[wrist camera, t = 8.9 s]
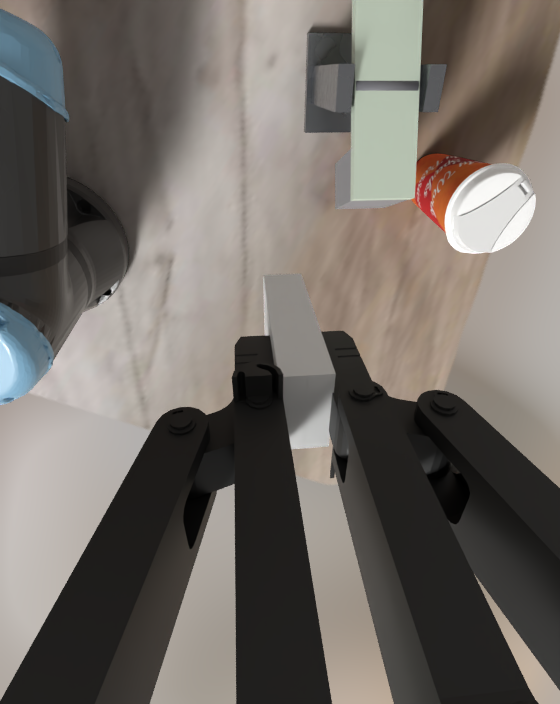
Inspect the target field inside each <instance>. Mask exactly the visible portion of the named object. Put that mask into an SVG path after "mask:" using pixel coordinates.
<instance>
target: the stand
mask: <svg viewBox="0 0 560 704" xmlns="http://www.w3.org/2000/svg"><path fill="white" fill-rule="evenodd" d="M446 67H447V64H426V65H421V66H420V90H419V112H438V109H439V104H440V99H441V93H442V88H443V83H444V78H445V72H446ZM354 72H355V64H352V33H307V59H306V91H305V122H304V132H305V133H317V132H351V107H352V95H353V83H354Z"/></svg>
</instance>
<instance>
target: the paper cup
mask: <svg viewBox="0 0 560 704" xmlns="http://www.w3.org/2000/svg"><path fill="white" fill-rule="evenodd" d="M411 200H412V201H413V202H414V203H415V204H416V205H417V206H418V207H419V208H420V209H421V210H422V211H423V212H424V213H425V214H426V215H427V216H428V217H429V218H430V219H431V220H432V221H433V222H435V223H436V224H437V225H438V226H439V227H440V228H441V229H442V230H443V231H444V232H445V233H446V234H447V239H448V242H449V243H450V245H451V246H452V247H454V248H455V249H456V250H458V251H460V252H465V253H473V254H475V253H484V252H489V253H490V252H494V251H497V250H500V249H502V248H504V247H506V246H508V245H509V244H511V243H512V242H513V241H514V240H516V239H517V238H518V237H519V236H520V235H521V234H522V233H523V231H524V230H525V229H526V227H527V226H528V224H529V222H530V220H531V218H532V216H533V213H534V209H535V203H536V197H535V192H534V191H533V189H532V185H531V182H530V179H529V178H528V176H527V175H526V173H525V172H524V171H523V170H522V169H520V168H519V167H517V166H515V165H512V164H507V163H497V164H488V163H483V162H479V161H474V160H470V159H465V158H461V157H456V156H451V155H446V154H437V153H436V154H430V155H427V156H424V157H423V158H421V159H420V160H418V161H417V162H416V184H415V198H413V199H411Z"/></svg>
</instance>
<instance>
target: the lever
mask: <svg viewBox="0 0 560 704" xmlns="http://www.w3.org/2000/svg"><path fill="white" fill-rule="evenodd" d="M422 20H423V0H352V64H355V72H354V83H353V95H352V107H351V149H350V150H349V151H348V152H347V153H346V154H345V155H344V156H343V157H342V158H341V159H340V160H339V161H338V162H337V163H336V164H335V209H358V208H385V207H388V206H391V205H394V204H397V203H400V202H403V201H406V200H410V199H413V198H415V184H416V160H417V137H418V113H419V90H420V66H421V43H422Z"/></svg>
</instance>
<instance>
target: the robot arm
mask: <svg viewBox="0 0 560 704" xmlns="http://www.w3.org/2000/svg"><path fill="white" fill-rule="evenodd" d="M65 122H69V113H68V112H67V110H66V109H65V96H64V81H63V66H62V61H61V58H60V55H59V52H58V50H57V49H56V47H55V45H54V44H53V43H52V41H51V40H50V39H49V38H48V37H47V36H46V35H45V34H44V33H43V32H42V31H41V30H40V29H38V28H37V27H35V26H34V25H32V24H30V23H28V22H27V21H25V20H23V19H21V18H19V17H17V16H15V15H13V14H11V13H9V12H7V11H5V10H3V9H0V405H3V404H6V403H9V402H12V401H14V399H18V398H19V397H21V396H23V395H25V394H26V393H28V392H29V391H30V390H31V389H32V388H33V387H34V386H35V385H36V384H37V382H38V381H39V380H40V379H41V378H42V377H43V376H44V375H45V374H46V373H47V372H48V371H49V370H50V368H51V366H52V365H53V360H54V359H55V357H56V355H57V354H58V352H59V350H60V349H61V347H62V345H63V344H64V342H65V341H66V339H67V337H68V336H69V334H70V332H71V331H72V329H73V327H74V326H75V324H76V323H77V321H78V319H79V318H80V316H81V314H82V313H83V312H85V311H87V310H90V309H92V308H94V307H96V306H98V305H100V304H102V303H103V302H105V301H106V300H107V299H109V298H110V297H111V296H112V295H113V294H114V292H115V291H116V290H117V288H118V287H119V285H120V283H121V281H122V280H123V278H124V276H125V273H126V271H127V267H128V261H129V248H128V242H127V238H126V235H125V232H124V230H123V227H122V225H121V223H120V221H119V220H118V218H117V217H116V215H115V214H114V212H113V211H112V210H111V208H110V207H109V206H108V205H107V204H106V203H105V202H104V201H103V200H102V199H101V198H100V197H99V196H98V195H97V194H95V193H94V192H93V191H91V190H90V189H88V188H87V187H85V186H84V185H82V184H80V183H78V182H76V181H74V180H72V179H69V178H67V174H66V127H65ZM263 287H264V329H265V336H248V337H240V339H239V340H238V342H237V343H236V344H235V371H234V373H233V376H232V384H233V396H234V398H233V400H232V402H231V403H230V404H229V405H228V406H227V407H225V408H224V409H222V410H220V411H217V412H215V413H212V414H208V415H205V413H203V412H202V411H201V410H199V409H196V408H192V407H180V408H176V409H173V410H170V411H168V412H167V413H165V414H163V415H162V416H161V417H160V418H159V419H158V421H157V422H156V424H155V425H154V427H153V429H152V431H151V432H150V434H149V436H148V438H147V440H146V441H145V443H144V445H143V447H142V449H141V450H140V452H139V454H138V456H137V458H136V459H135V461H134V463H133V465H132V466H131V468H130V470H129V472H128V474H127V475H126V477H125V479H124V481H123V483H122V484H121V486H120V488H119V490H118V492H117V493H116V495H115V497H114V499H113V500H112V502H111V504H110V506H109V508H108V509H107V511H106V513H105V515H104V517H103V518H102V520H101V522H100V524H99V525H98V527H97V529H96V531H95V533H94V535H93V536H92V538H91V540H90V542H89V543H88V545H87V547H86V549H85V551H84V552H83V554H82V556H81V558H80V560H79V562H78V563H77V565H76V567H75V568H74V570H73V572H72V574H71V576H70V577H69V579H68V581H67V583H66V584H65V586H64V588H63V590H62V592H61V593H60V595H59V597H58V599H57V601H56V602H55V604H54V606H53V608H52V610H51V611H50V613H49V615H48V617H47V618H46V620H45V622H44V624H43V626H42V627H41V629H40V631H39V633H38V635H37V636H36V638H35V640H34V642H33V644H32V646H31V647H30V649H29V651H28V653H27V654H26V656H25V658H24V660H23V661H22V663H21V665H20V667H19V669H18V670H17V672H16V674H15V676H14V678H13V680H12V681H11V683H10V685H9V686H8V688H7V690H6V692H5V694H4V696H3V697H2V699H1V701H0V704H150V700H151V697H152V694H153V691H154V688H155V685H156V682H157V678H158V675H159V672H160V669H161V666H162V663H163V660H164V657H165V653H166V650H167V647H168V644H169V641H170V638H171V635H172V632H173V628H174V625H175V622H176V619H177V616H178V613H179V610H180V606H181V603H182V600H183V597H184V594H185V590H186V588H187V585H188V582H189V578H190V575H191V572H192V569H193V566H194V563H195V559H196V556H197V553H198V550H199V547H200V544H201V541H202V538H203V535H204V531H205V528H206V525H207V522H208V519H209V516H210V513H211V510H212V506H213V503H214V500H215V497H216V492H217V490H219V489H222V488H224V487H227V486H230V485H232V484H235V577H236V578H235V580H236V581H235V584H236V694H237V695H236V697H237V698H236V699H237V701H236V704H332V701H331V694H330V688H329V682H328V676H327V670H326V664H325V657H324V651H323V644H322V639H321V632H320V626H319V619H318V613H317V608H316V601H315V594H314V588H313V583H312V576H311V570H310V563H309V558H308V551H307V545H306V538H305V533H304V526H303V520H302V513H301V507H300V501H299V495H298V488H297V482H296V476H295V470H294V463H293V457H292V451H291V449H301V448H314V447H328V446H329V438H330V437H331V440H332V444H333V451H332V460H331V470H330V478H334V474H336V478H337V482H338V486H339V489H340V493H341V497H342V501H343V505H344V509H345V513H346V517H347V521H348V525H349V529H350V533H351V537H352V540H353V545H354V548H355V552H356V556H357V560H358V564H359V568H360V572H361V576H362V580H363V584H364V588H365V592H366V595H367V600H368V603H369V607H370V611H371V615H372V619H373V623H374V627H375V631H376V635H377V639H378V643H379V647H380V651H381V655H382V658H383V662H384V666H385V670H386V674H387V678H388V682H389V686H390V690H391V694H392V698H393V701H394V704H538V702H537V701H536V700H535V698H534V696H533V695H532V693H531V691H530V689H529V688H528V686H527V683H526V681H525V679H524V677H523V675H522V673H521V671H520V669H519V667H518V665H517V663H516V661H515V658H514V656H513V654H512V652H511V650H510V648H509V646H508V644H507V642H506V640H505V638H504V636H503V634H502V632H501V629H500V627H499V625H498V623H497V621H496V619H495V617H494V615H493V613H492V611H491V609H490V606H489V605H488V603H487V601H486V598H485V596H484V594H483V592H482V590H481V588H480V586H479V584H478V582H477V580H476V577H477V578H478V579H479V581H480V582H481V583H482V585H483V586H484V588H485V589H486V590H487V592H488V593H489V594H490V596H491V597H492V599H493V600H494V601H495V603H496V604H497V605H498V607H499V608H500V609H501V611H502V612H503V614H504V615H505V616H506V618H507V619H508V620H509V622H510V623H511V625H512V626H513V627H514V629H515V630H516V631H517V633H518V634H519V635H520V637H521V638H522V639H523V641H524V642H525V644H526V645H527V646H528V648H529V649H530V650H531V652H532V653H533V655H534V656H535V657H536V659H537V660H538V661H539V663H540V664H541V666H542V667H543V668H544V670H545V671H546V672H547V673H548V675H549V676H550V678H551V679H552V681H553V682H554V683H555V685H556V686H557V687H558V689H559V690H560V488H559V487H558V486H557V485H556V484H554V483H553V482H552V481H551V480H550V479H549V478H548V477H547V476H546V475H545V474H543V473H542V472H541V471H540V470H539V469H538V468H537V467H536V466H535V465H534V464H533V463H531V462H530V461H529V460H528V459H527V458H526V457H525V456H524V455H523V454H522V453H520V451H518V450H517V449H516V448H515V447H514V446H513V445H512V444H511V443H510V442H509V441H508V440H506V439H505V438H504V437H503V436H502V435H501V434H500V433H499V432H498V431H496V429H494V428H493V427H492V426H491V425H490V424H489V423H488V422H487V421H486V420H485V419H484V418H483V417H481V416H480V415H479V414H478V413H477V412H476V411H475V410H474V409H473V408H472V407H471V406H469V405H468V404H467V403H466V402H465V401H464V400H462V399H461V398H460V397H458V396H457V395H454V394H452V393H449V392H447V391H440V390H432V391H427V392H424V393H422V394H421V395H420V397H419V398H418V400H417V402H412V401H406V400H400V399H396V398H392V397H390V396H388V394H387V392H386V391H385V390H384V388H383V387H382V386H380V385H379V384H377V383H376V382H373V381H372V380H371V378H370V376H369V373H368V371H367V369H366V367H365V365H364V362H363V360H362V358H361V357H360V354H359V352H358V349H357V347H356V345H355V343H354V341H353V338H351V337H350V336H349V335H348V334H346V333H345V332H344V331H327V332H321V330H320V327H319V324H318V321H317V318H316V315H315V312H314V309H313V307H312V304H311V301H310V298H309V295H308V292H307V289H306V286H305V283H304V281H303V278H302V275H301V274H276V275H263ZM474 574H475V575H476V577H475V575H474Z"/></svg>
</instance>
